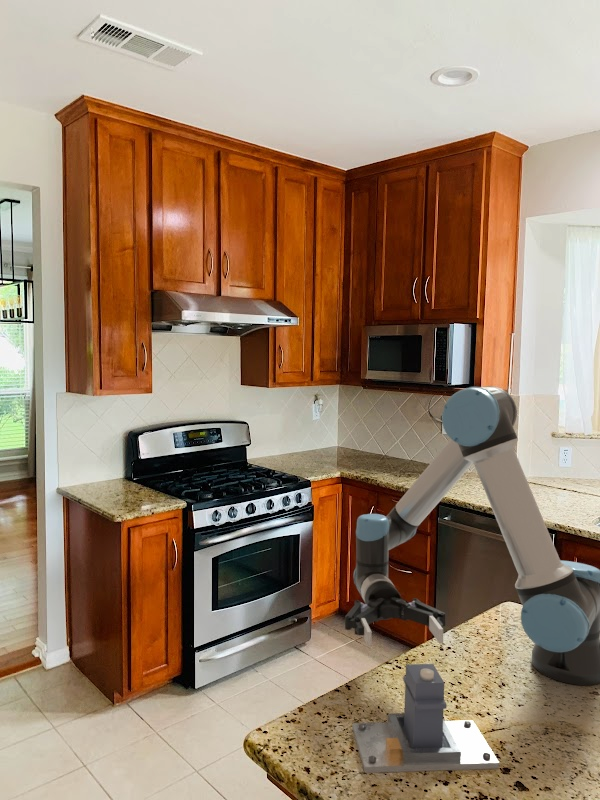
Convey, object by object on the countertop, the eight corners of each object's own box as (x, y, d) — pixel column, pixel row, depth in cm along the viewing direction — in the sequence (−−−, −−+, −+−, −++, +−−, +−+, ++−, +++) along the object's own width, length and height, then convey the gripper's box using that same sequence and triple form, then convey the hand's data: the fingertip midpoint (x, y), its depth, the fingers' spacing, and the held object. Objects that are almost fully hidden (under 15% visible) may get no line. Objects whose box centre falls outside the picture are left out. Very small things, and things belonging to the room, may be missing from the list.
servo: (428, 725, 110) (430, 654, 110) (444, 758, 101) (447, 681, 100) (401, 726, 110) (404, 655, 109) (415, 759, 101) (418, 681, 100)
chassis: (472, 725, 113) (473, 710, 112) (498, 768, 101) (499, 751, 100) (352, 728, 111) (352, 713, 111) (364, 772, 99) (365, 755, 99)
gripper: (436, 611, 138) (470, 654, 117) (324, 615, 136) (339, 660, 115) (436, 578, 138) (470, 615, 117) (324, 581, 136) (339, 620, 115)
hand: (405, 637), depth 116 cm, fingers open, 13 cm apart
